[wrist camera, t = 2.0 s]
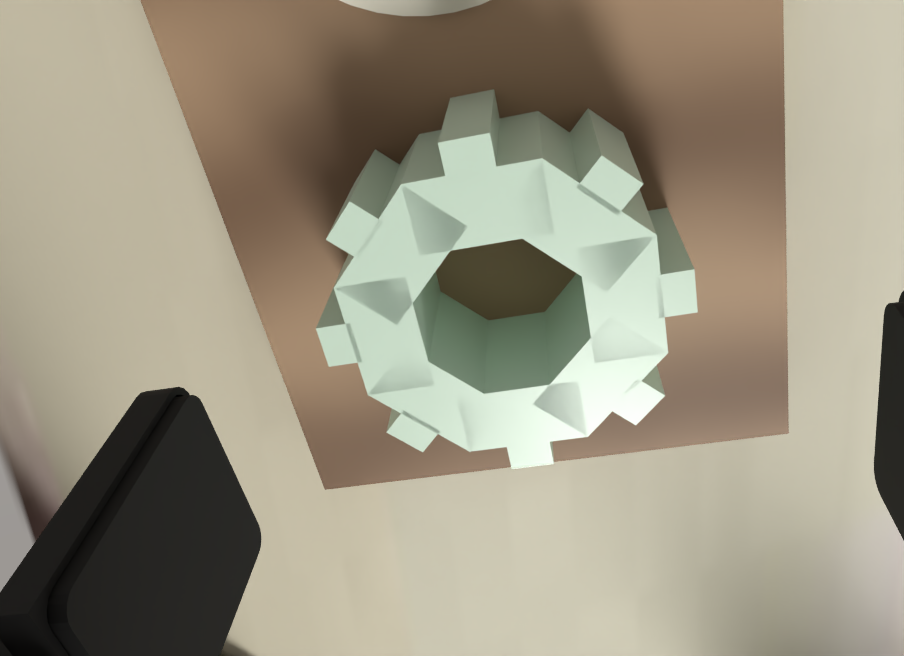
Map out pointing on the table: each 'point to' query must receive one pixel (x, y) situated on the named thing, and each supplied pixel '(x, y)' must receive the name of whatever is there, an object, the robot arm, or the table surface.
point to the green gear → (520, 337)
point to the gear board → (511, 262)
